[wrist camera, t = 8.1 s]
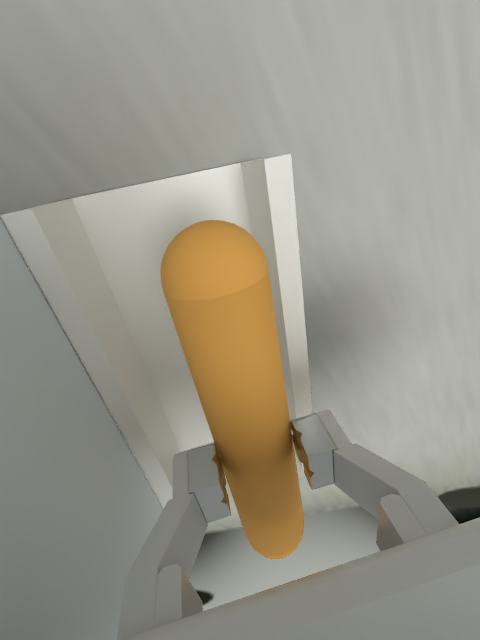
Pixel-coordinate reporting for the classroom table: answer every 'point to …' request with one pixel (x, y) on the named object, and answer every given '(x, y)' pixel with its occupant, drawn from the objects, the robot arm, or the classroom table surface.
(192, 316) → the rod
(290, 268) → the duct
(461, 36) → the classroom table surface
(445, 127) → the classroom table surface
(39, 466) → the cover
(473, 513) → the classroom table surface
